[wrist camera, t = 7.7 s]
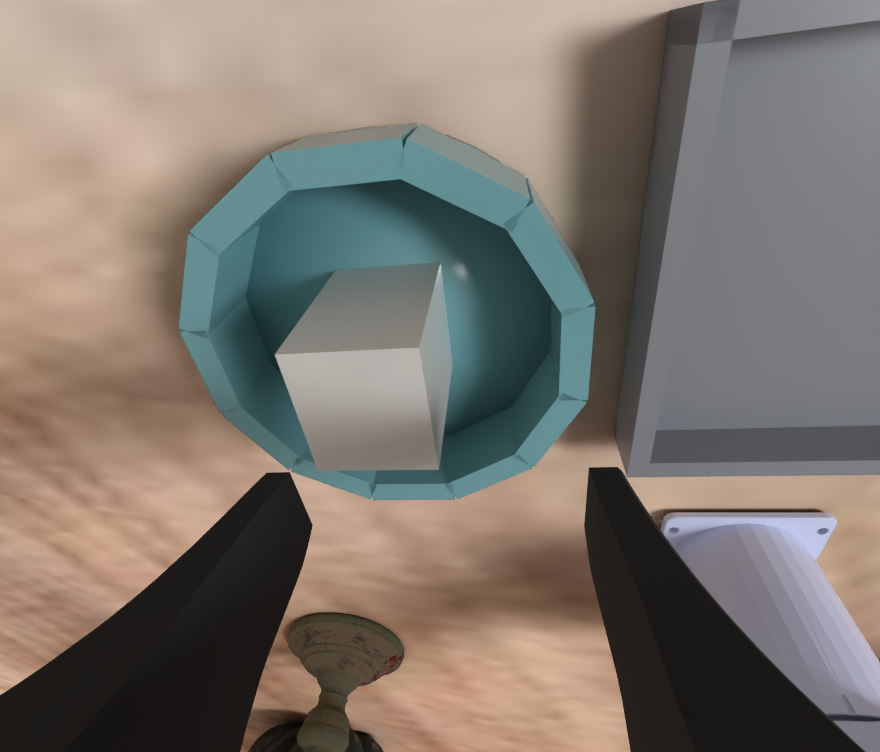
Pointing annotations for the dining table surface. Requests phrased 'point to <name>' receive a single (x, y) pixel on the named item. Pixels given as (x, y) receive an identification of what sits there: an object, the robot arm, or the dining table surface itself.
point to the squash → (281, 746)
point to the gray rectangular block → (372, 369)
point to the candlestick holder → (339, 670)
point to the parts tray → (760, 248)
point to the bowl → (388, 244)
